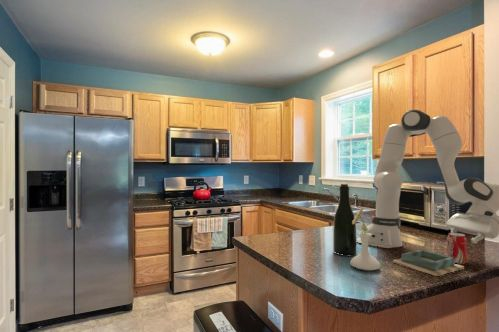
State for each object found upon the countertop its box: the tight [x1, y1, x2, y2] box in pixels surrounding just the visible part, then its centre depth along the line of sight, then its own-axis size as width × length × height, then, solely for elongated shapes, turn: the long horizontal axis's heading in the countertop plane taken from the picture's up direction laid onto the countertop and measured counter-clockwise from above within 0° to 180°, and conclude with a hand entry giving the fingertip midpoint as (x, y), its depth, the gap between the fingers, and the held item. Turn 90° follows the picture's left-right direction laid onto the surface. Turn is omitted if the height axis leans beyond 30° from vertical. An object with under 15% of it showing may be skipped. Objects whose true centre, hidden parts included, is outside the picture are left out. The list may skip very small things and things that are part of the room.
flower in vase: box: [349, 206, 381, 271], centre depth 115 cm, size 13×11×25 cm
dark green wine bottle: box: [332, 183, 358, 256], centre depth 136 cm, size 10×10×33 cm
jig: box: [392, 249, 465, 276], centre depth 117 cm, size 18×18×4 cm
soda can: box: [446, 232, 469, 265], centre depth 122 cm, size 7×7×12 cm
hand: (461, 239), depth 123 cm, fingers open, 8 cm apart
